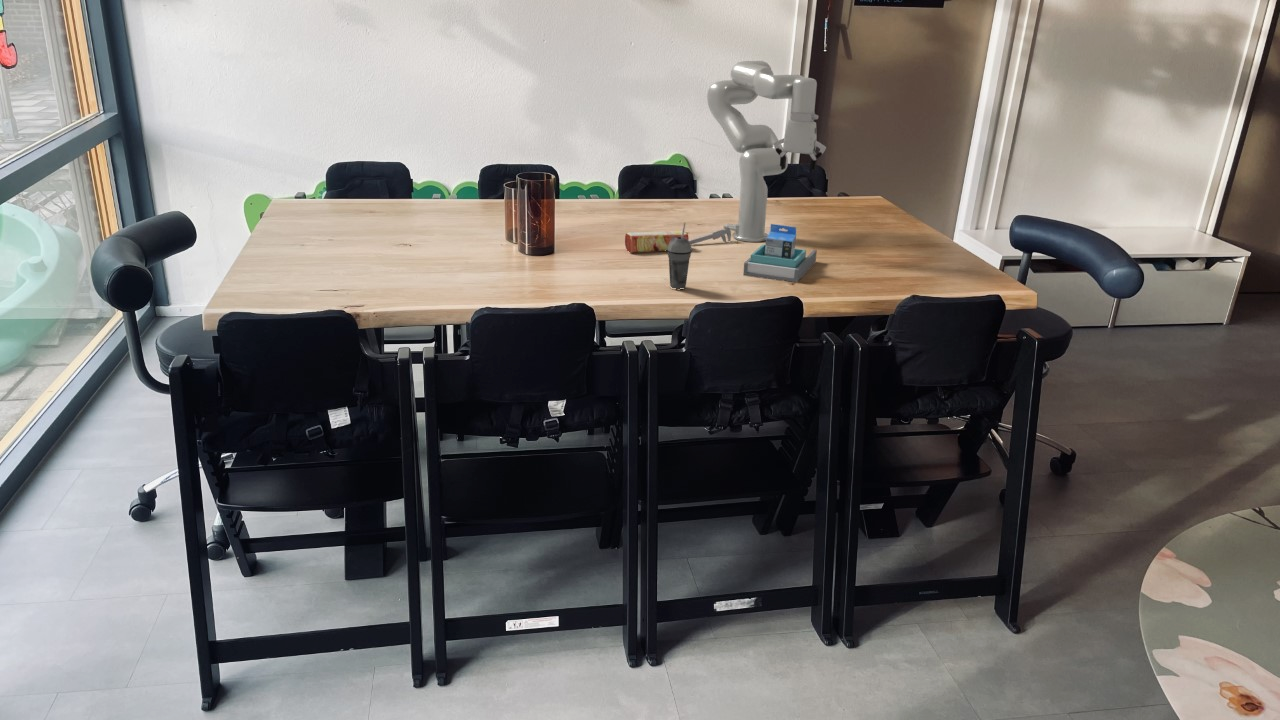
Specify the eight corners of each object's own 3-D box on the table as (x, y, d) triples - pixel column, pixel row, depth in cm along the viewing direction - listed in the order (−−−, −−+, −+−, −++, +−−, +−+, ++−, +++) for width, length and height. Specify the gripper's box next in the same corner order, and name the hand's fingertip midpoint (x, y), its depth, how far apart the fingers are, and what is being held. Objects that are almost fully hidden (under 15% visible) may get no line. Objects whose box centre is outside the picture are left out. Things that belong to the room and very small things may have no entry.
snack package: (682, 246, 344) (683, 227, 341) (689, 251, 338) (690, 232, 335) (623, 250, 338) (624, 230, 335) (629, 255, 332) (629, 235, 329)
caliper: (728, 241, 352) (730, 224, 350) (730, 242, 351) (731, 224, 349) (677, 246, 344) (678, 228, 342) (679, 247, 343) (679, 229, 341)
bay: (743, 275, 313) (744, 262, 312) (765, 255, 336) (766, 243, 334) (796, 282, 307) (798, 270, 306) (815, 261, 330) (816, 250, 328)
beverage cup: (664, 284, 302) (666, 219, 295) (688, 284, 303) (691, 219, 295) (667, 291, 295) (669, 225, 288) (691, 291, 296) (694, 225, 288)
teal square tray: (749, 270, 314) (750, 254, 312) (761, 259, 326) (762, 244, 324) (794, 276, 309) (795, 260, 307) (804, 265, 321) (806, 249, 319)
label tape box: (763, 263, 318) (766, 226, 314) (767, 260, 322) (770, 223, 317) (789, 267, 315) (793, 229, 310) (793, 264, 318) (797, 227, 314)
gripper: (830, 118, 322) (825, 171, 328) (778, 114, 328) (774, 166, 334) (826, 121, 315) (820, 175, 322) (772, 116, 321) (768, 169, 328)
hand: (797, 170), depth 328 cm, fingers open, 9 cm apart
